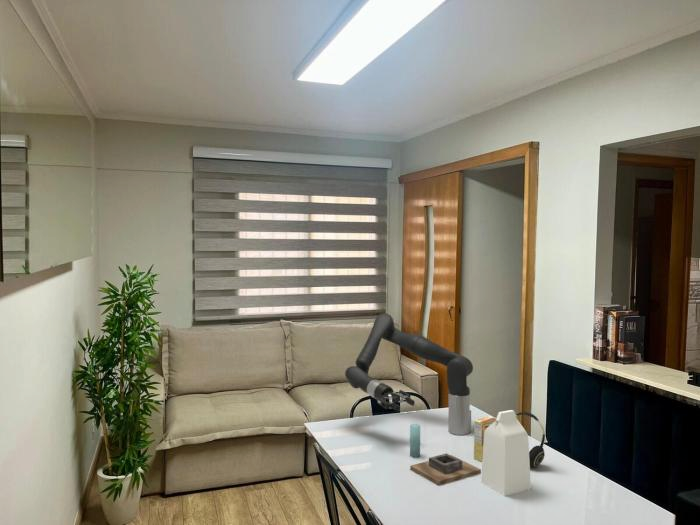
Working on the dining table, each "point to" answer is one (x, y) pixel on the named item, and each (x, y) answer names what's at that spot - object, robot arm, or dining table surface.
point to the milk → (506, 455)
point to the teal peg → (414, 440)
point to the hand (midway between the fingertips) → (406, 406)
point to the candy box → (480, 435)
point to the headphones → (536, 452)
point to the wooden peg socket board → (445, 469)
